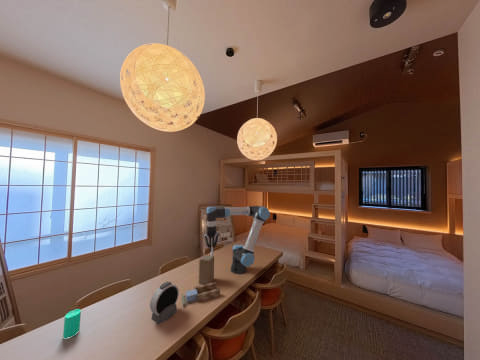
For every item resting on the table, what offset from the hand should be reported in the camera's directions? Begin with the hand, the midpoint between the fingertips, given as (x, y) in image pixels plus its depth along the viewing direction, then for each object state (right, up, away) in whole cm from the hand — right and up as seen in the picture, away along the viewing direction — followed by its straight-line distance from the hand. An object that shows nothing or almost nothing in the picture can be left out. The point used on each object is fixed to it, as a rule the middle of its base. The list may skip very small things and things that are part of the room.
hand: (211, 255), depth 130 cm
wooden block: (-5, -24, +3) cm, 25 cm away
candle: (-65, -20, -46) cm, 83 cm away
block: (-11, -21, -19) cm, 30 cm away
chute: (-5, -22, -16) cm, 28 cm away
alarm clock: (-23, -21, -33) cm, 45 cm away
